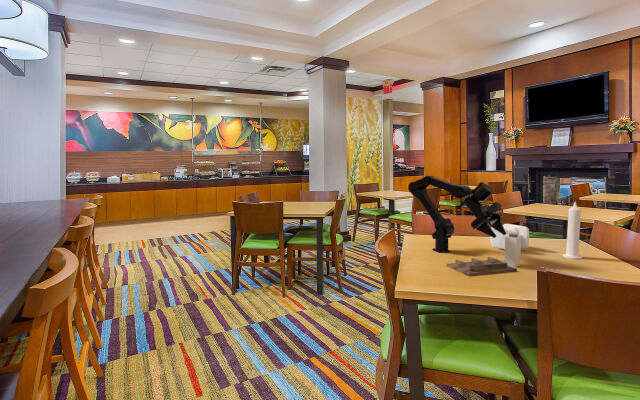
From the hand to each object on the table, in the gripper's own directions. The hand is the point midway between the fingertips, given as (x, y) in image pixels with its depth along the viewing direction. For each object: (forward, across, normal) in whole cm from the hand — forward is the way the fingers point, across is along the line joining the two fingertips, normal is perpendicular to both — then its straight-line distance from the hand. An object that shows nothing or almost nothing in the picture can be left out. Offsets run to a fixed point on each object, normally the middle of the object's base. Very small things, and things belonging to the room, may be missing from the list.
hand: (500, 235), depth 155 cm
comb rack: (+8, -15, +9) cm, 19 cm away
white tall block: (+12, 0, +5) cm, 13 cm away
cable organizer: (+2, +28, +14) cm, 32 cm away
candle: (+20, +33, -4) cm, 39 cm away
